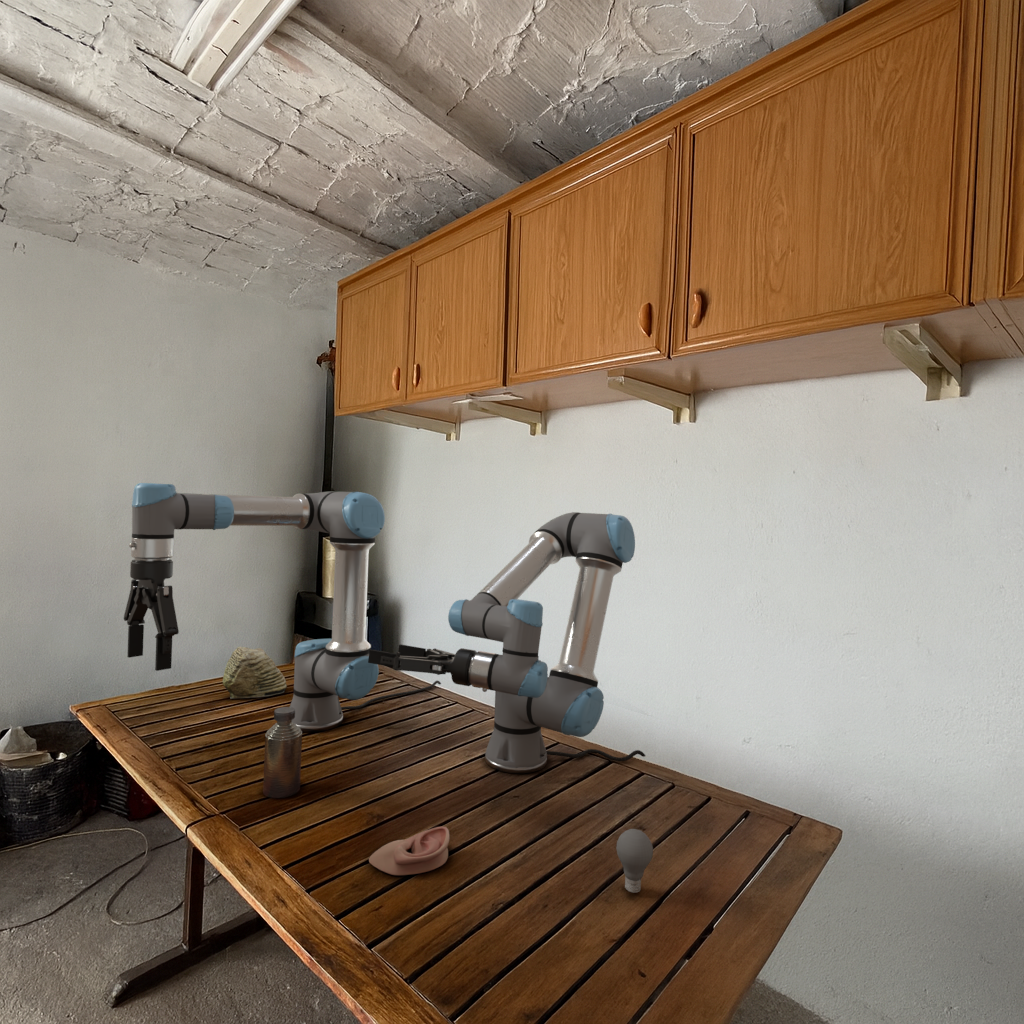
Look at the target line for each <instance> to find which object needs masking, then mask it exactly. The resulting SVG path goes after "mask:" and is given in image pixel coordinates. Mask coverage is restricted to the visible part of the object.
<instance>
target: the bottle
mask: <svg viewBox="0 0 1024 1024" xmlns="http://www.w3.org/2000/svg"><path fill="white" fill-rule="evenodd" d="M302 745H303V732H302V731H301V729H300V728H299V727H298V726H297V725H296V724H294V723H293V722H292V720H290V721H276V722H275V723H274V724H273V725H272V726H271V727H270V728H269V729H268V730H267V731H266V733H265V734H264V757H263V758H264V763H263V788H262V789H263V790H262V792H263V793H262V794H263V795H264V796H265V797H267V798H271V799H284V798H289V797H292V796H294V795H296V794H298V793H299V791H300V790H301V777H302V776H301V774H302V770H301V769H302Z"/></svg>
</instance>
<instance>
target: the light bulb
mask: <svg viewBox="0 0 1024 1024" xmlns="http://www.w3.org/2000/svg"><path fill="white" fill-rule="evenodd" d="M615 849H616V854H617V857H618V859H619V861H620V863H621V865H622V867H623V873H624V874H623V875H624V876H625V878H624V888H625V890H627V891H628V892H630V893H634V894H635V893H639V892H640V891H641V889H642V887H641V886H642V879H643V877H644V875H645V871H646V868H647V867H648V866H649V864H650V863H651V861H652V859H653V855H654V847H653V843H652V841H651V838H649V836H648V835H647V834H646V833H645V832H643V831H642V830H641V829H636V828H629V829H627V830H625V831H623V832H622V833H621V834H620V835H619V837H618V839H617V841H616V847H615Z"/></svg>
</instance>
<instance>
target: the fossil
mask: <svg viewBox="0 0 1024 1024" xmlns="http://www.w3.org/2000/svg"><path fill="white" fill-rule="evenodd" d="M222 676H223V677H222V685H223V687H224V688H225V690H226V691H228V693H229V698H230V699H250V698H264V697H271V696H275V695H281V694H284V693H285V691H286V689H287V687H288V686H287V680H286V678H285V676H284V674H283V673H282V672H281V669H279V668H278V667H277V665H276V663H275V662H274V660H273V659H272V658H271V657H270V656H269V655H268V654H267V653H266V652H265V650H264V649H263V648H260V647H258V648H251V647H247V646H246V647H245V646H238V647H237V648H236V649H235V650H233V651H232V653H231V656H230V657H229V659H228V660H227V663H226V666H225V668H224V671H223V675H222Z"/></svg>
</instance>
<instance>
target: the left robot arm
mask: <svg viewBox="0 0 1024 1024" xmlns="http://www.w3.org/2000/svg"><path fill="white" fill-rule="evenodd" d="M385 515H386V513H385V511H384V508H383V505H382V503H381V502H380V501H379V500H378V498H377V497H375V495H373V494H370V493H367V492H363V491H362V492H361V491H337V490H336V491H335V490H333V491H332V490H330V491H321V492H311V493H295V494H294V495H293V496H276V495H275V496H274V495H273V496H272V495H248V494H247V495H246V494H244V495H243V494H220V493H219V494H218V493H217V494H216V493H215V494H214V493H189V492H187V493H186V492H177V491H176V486H175V485H174V484H173V483H152V482H139V483H137V484H136V485H135V486H134V488H133V492H132V501H131V520H132V521H131V542H130V543H128V547H129V548H130V549H131V550H130V556H131V558H133V559H132V560H131V561H130V567H129V568H130V571H129V574H130V575H129V576H130V578H131V581H130V590H129V594H128V598H127V603H126V607H125V610H124V615H123V621H124V622H126V624H127V626H128V629H127V630H128V631H127V658H135V657H142V656H144V635H145V634H144V630H145V625H144V624H145V623H146V621H145V619H144V618H145V616H146V615H147V612H148V609H149V610H151V613H152V618H153V620H154V624H155V627H156V631H157V633H156V635H155V636H154V638H155V661H154V663H155V665H154V668H155V669H154V670H155V671H157V672H159V671H164V670H169V669H172V659H173V657H172V655H173V637H175V636H176V635H179V632H180V631H179V625H178V619H177V615H176V614H177V613H176V609H175V603H174V597H173V595H174V593H173V585H165V580H167V579H171V578H172V577H173V575H174V573H173V572H174V561H173V560H172V559H171V558H173V557H174V554H175V553H174V552H175V530H213V531H215V530H224V529H228V528H230V526H233V527H234V526H237V527H238V526H240V527H243V526H246V527H247V526H249V527H250V526H258V527H259V526H268V527H269V526H276V527H277V526H282V527H284V526H285V527H286V526H287V527H288V526H289V527H290V526H291V527H293V528H294V529H296V530H308V531H309V530H310V531H316V532H319V533H325V534H329V544H330V545H331V546H332V547H333V548H334V550H335V551H334V572H333V573H334V577H333V599H332V625H331V626H332V627H331V638H317V639H308V640H304V641H300V642H299V643H297V645H296V646H295V650H294V655H293V657H294V672H293V673H294V674H293V695H292V696H293V697H292V699H291V702H290V704H289V707H292V708H294V709H295V718H294V719H292V722H293V723H294V724H296V725H297V726H298V727H299V728H300V729H301V731H302V733H316V732H325V731H329V730H332V729H335V728H337V727H339V726H340V725H342V723H343V722H344V714H343V711H345V710H357V709H358V710H359V709H362V708H364V707H365V706H367V705H369V704H371V703H373V702H376V701H380V700H384V699H390V698H395V697H401V696H407V695H412V694H417V693H421V692H424V691H427V690H429V689H432V688H433V687H435V686H436V685H437V684H438V685H442V682H441V681H440V680H435V681H434V682H433V683H432V684H430V685H428V686H425V687H422V688H417V689H414V690H409V691H403V692H397V693H391V694H386V695H382V696H378V697H377V696H376V697H373V698H371V699H369V700H367V701H365V702H363V703H362V704H359V705H348V706H341V702H340V699H339V698H341V699H342V700H343V699H344V700H348V701H349V700H350V701H357V700H360V699H362V698H364V697H365V696H367V695H368V694H370V692H371V690H372V689H374V687H375V685H376V683H377V682H378V678H379V674H380V672H379V671H380V670H379V669H380V668H379V665H378V664H372V663H368V659H369V651H370V650H371V648H372V644H371V643H370V642H368V640H367V639H366V631H367V607H368V606H367V605H368V604H367V602H368V582H369V581H368V579H369V555H370V553H369V552H370V550H371V548H372V547H374V545H375V544H376V536H378V535H379V534H380V533H381V530H383V528H384V526H385V522H386V521H385V520H386V516H385Z"/></svg>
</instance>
